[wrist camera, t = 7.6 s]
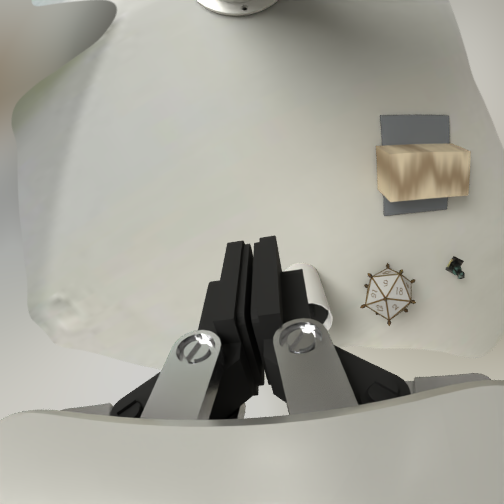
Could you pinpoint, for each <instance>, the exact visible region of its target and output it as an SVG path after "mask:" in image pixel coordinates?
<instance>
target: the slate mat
mask: <svg viewBox="0 0 504 504" xmlns="http://www.w3.org/2000/svg"><path fill="white" fill-rule="evenodd" d="M380 121H381V135H382V146H385V145H406V144H450V135H449V116H447V115H380ZM447 202H448V197H441V198H430V199H419V200H408V201H397V202H390V201H389V200H388V199H387V198H386V197H385V196H384V216H387V215H396V214H406V213H415V212H425V211H435V210H445V209H447Z"/></svg>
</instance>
